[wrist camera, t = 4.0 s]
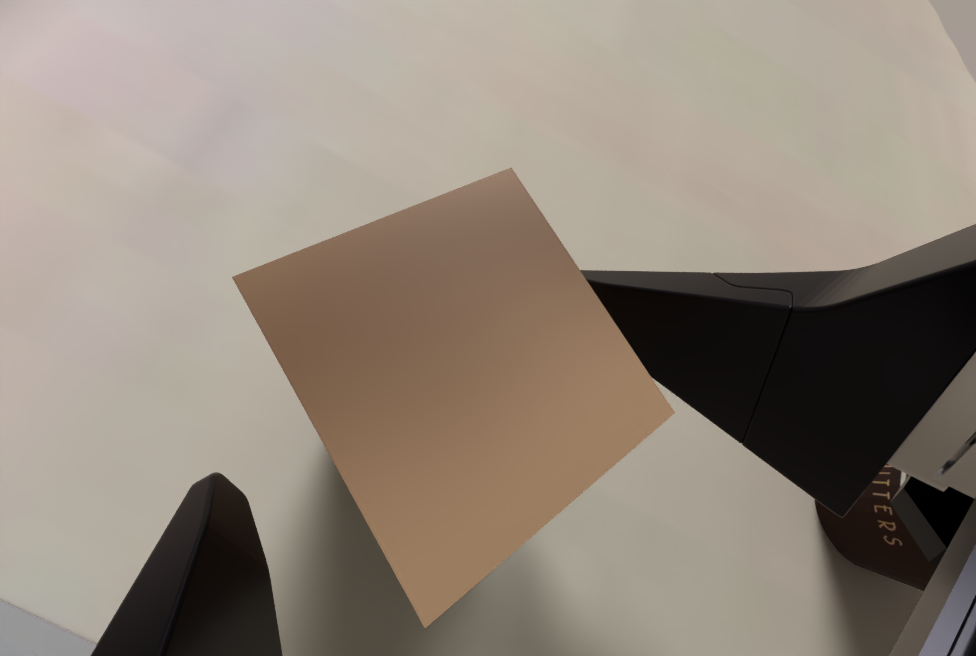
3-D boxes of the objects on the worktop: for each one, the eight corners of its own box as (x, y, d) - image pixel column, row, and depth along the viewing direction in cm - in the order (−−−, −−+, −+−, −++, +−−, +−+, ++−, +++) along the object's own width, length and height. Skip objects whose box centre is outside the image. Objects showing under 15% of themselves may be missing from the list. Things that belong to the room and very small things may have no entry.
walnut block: (482, 427, 17) (674, 413, 5) (398, 484, 15) (424, 629, 4) (430, 342, 17) (511, 167, 6) (344, 390, 16) (231, 277, 4)
